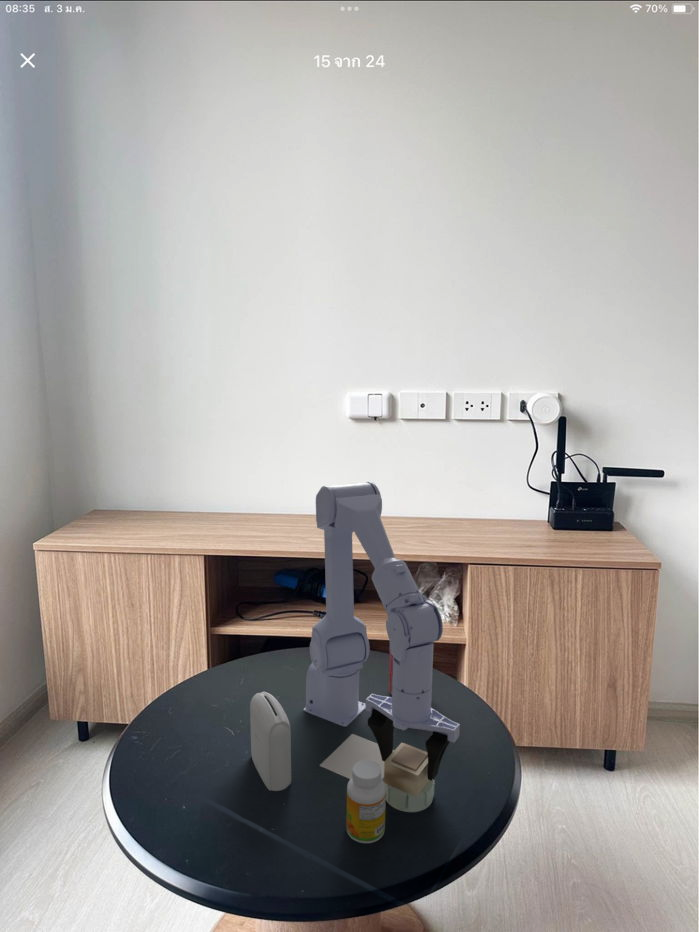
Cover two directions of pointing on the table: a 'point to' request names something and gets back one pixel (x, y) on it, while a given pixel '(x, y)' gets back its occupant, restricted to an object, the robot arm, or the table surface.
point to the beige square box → (407, 769)
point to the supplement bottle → (366, 803)
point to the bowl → (410, 798)
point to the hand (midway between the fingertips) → (409, 766)
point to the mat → (353, 756)
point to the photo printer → (270, 741)
